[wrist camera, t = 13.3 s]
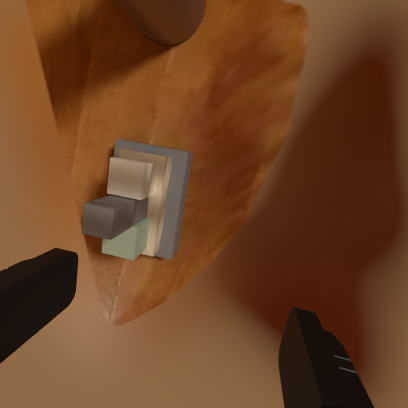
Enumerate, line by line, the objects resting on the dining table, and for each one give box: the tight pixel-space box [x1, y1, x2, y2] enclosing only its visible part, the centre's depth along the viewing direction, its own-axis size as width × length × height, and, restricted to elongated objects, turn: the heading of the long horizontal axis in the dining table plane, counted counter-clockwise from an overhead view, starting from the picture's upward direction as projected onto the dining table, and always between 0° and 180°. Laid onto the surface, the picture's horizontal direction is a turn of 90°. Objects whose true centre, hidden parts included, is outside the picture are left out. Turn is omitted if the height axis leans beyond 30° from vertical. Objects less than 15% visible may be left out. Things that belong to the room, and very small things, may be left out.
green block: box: [102, 218, 150, 260], centre depth 32 cm, size 4×4×4 cm
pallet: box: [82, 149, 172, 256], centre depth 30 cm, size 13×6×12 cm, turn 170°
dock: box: [110, 139, 193, 260], centre depth 37 cm, size 15×10×3 cm, turn 170°
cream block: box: [107, 157, 157, 200], centre depth 31 cm, size 4×4×4 cm
